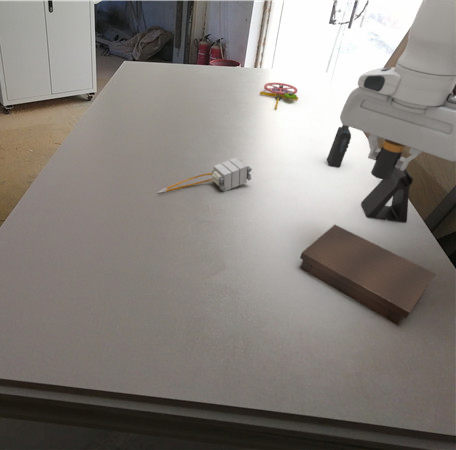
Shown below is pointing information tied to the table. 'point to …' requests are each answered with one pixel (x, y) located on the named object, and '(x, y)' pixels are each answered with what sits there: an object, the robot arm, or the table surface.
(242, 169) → the electrical component
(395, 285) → the block
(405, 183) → the phone stand
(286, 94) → the mechanical gear assembly
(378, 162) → the battery
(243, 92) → the table surface
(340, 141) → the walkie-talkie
